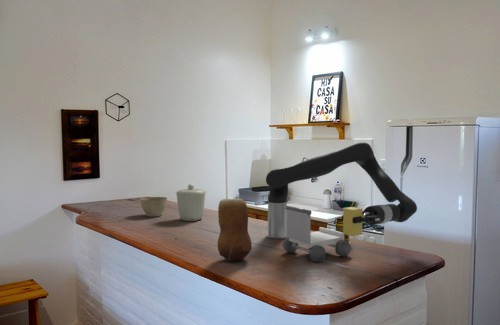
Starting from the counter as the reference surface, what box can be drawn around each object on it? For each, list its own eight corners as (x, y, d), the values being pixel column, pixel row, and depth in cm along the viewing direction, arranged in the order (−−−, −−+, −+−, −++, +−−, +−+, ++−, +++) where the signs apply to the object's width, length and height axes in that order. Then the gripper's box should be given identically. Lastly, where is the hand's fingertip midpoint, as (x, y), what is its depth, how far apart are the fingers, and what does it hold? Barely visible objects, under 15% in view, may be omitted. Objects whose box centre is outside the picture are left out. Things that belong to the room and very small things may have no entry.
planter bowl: (172, 214, 274) (172, 197, 273) (154, 219, 260) (154, 201, 260) (154, 212, 282) (153, 195, 282) (135, 216, 269) (135, 199, 268)
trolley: (312, 264, 167) (312, 211, 166) (281, 253, 183) (281, 205, 182) (350, 255, 179) (351, 206, 177) (318, 245, 195) (319, 200, 193)
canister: (172, 218, 262) (171, 183, 261) (201, 215, 270) (200, 182, 268) (180, 223, 246) (180, 186, 244) (210, 221, 253) (210, 185, 252)
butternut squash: (233, 253, 182) (232, 194, 181) (258, 259, 174) (258, 197, 172) (210, 261, 172) (209, 198, 170) (235, 267, 163) (234, 201, 162)
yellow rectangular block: (352, 236, 162) (353, 209, 162) (343, 233, 166) (343, 208, 166) (362, 234, 165) (362, 208, 164) (352, 232, 169) (352, 206, 169)
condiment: (347, 246, 194) (347, 219, 193) (329, 244, 198) (329, 218, 197) (351, 242, 200) (352, 217, 199) (334, 240, 204) (334, 215, 204)
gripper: (364, 202, 179) (334, 206, 170) (393, 207, 167) (362, 212, 158) (364, 220, 179) (334, 225, 170) (392, 227, 167) (362, 232, 158)
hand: (347, 219), depth 164 cm, fingers closed on yellow rectangular block, 5 cm apart
